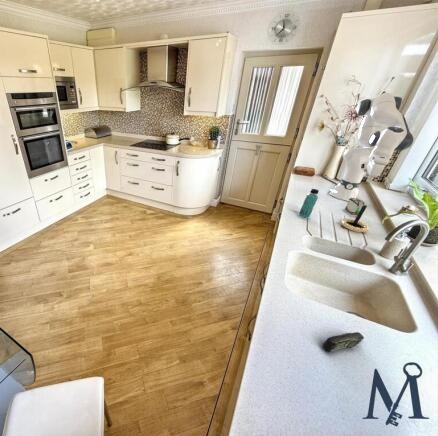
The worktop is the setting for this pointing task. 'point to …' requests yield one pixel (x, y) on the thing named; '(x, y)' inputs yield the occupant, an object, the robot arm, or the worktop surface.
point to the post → (357, 218)
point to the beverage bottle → (309, 203)
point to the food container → (354, 206)
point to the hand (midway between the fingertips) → (367, 179)
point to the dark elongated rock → (342, 341)
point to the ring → (364, 229)
